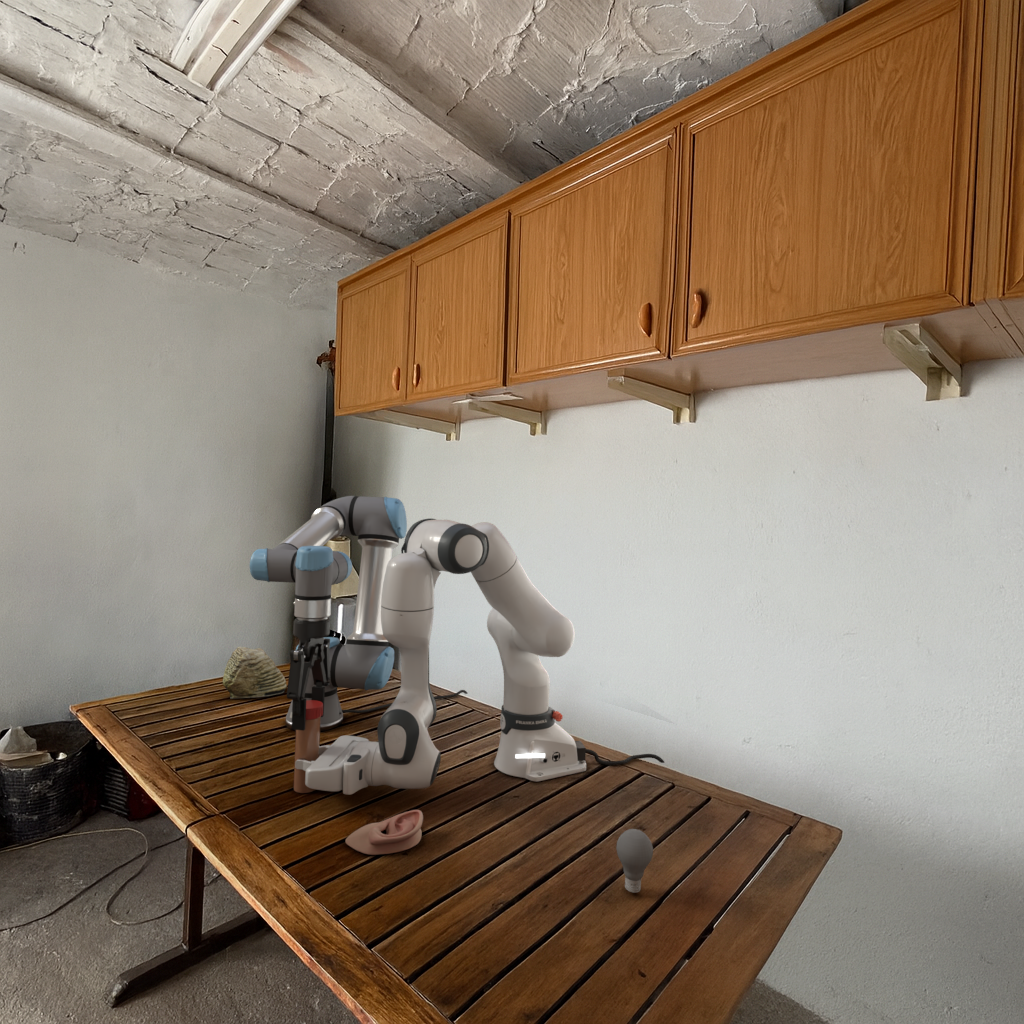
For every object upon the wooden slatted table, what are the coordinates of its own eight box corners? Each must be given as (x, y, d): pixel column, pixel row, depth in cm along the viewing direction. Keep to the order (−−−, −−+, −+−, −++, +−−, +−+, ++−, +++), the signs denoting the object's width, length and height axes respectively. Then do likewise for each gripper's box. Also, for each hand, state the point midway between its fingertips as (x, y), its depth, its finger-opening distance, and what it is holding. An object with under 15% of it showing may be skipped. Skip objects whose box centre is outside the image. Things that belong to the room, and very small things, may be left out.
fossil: (218, 695, 195) (220, 647, 195) (278, 685, 208) (279, 640, 207) (228, 703, 189) (230, 653, 188) (289, 692, 201) (290, 645, 201)
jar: (313, 793, 135) (316, 710, 135) (290, 792, 135) (293, 709, 135) (320, 783, 140) (324, 703, 140) (298, 782, 140) (301, 702, 140)
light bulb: (610, 879, 108) (613, 822, 108) (644, 879, 109) (647, 822, 109) (619, 902, 102) (622, 840, 102) (655, 901, 103) (658, 840, 103)
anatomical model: (338, 827, 114) (365, 799, 125) (337, 849, 114) (364, 818, 125) (408, 839, 111) (429, 808, 122) (407, 861, 111) (428, 828, 122)
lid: (317, 720, 134) (318, 709, 134) (289, 719, 134) (290, 708, 134) (326, 711, 140) (326, 700, 140) (299, 710, 140) (300, 699, 140)
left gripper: (318, 608, 148) (314, 706, 148) (270, 625, 127) (266, 737, 128) (348, 611, 146) (344, 709, 147) (305, 628, 126) (300, 741, 126)
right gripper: (380, 730, 146) (322, 726, 148) (348, 767, 126) (282, 761, 127) (379, 757, 146) (321, 752, 148) (347, 799, 126) (280, 792, 128)
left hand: (308, 722), depth 137 cm, fingers open, 8 cm apart
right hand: (302, 757), depth 137 cm, fingers closed on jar, 5 cm apart
